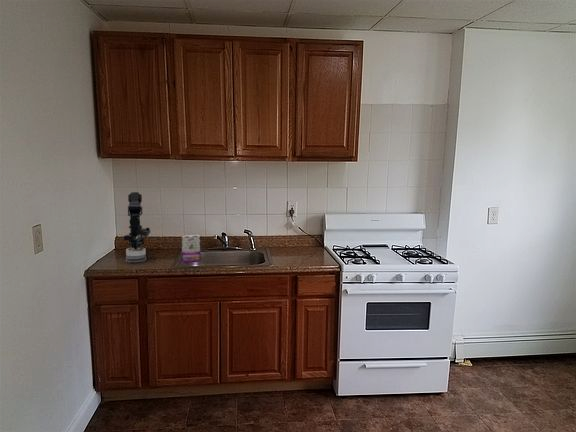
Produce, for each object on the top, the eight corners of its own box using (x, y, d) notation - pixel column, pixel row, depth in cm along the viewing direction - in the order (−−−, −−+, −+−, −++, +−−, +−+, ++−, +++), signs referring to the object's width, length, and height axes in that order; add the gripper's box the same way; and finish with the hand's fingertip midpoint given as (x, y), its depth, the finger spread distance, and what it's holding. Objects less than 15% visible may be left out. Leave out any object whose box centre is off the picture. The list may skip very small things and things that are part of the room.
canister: (131, 257, 239) (131, 246, 238) (149, 258, 238) (149, 247, 237) (121, 262, 227) (121, 250, 226) (141, 263, 226) (140, 251, 226)
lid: (133, 252, 235) (133, 248, 235) (142, 253, 235) (142, 248, 234) (128, 254, 229) (128, 250, 229) (138, 255, 229) (138, 250, 228)
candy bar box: (200, 260, 237) (200, 234, 235) (200, 262, 233) (200, 236, 231) (181, 260, 234) (181, 235, 232) (181, 262, 230) (181, 236, 227)
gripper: (140, 226, 220) (141, 252, 222) (154, 222, 238) (155, 246, 240) (122, 226, 221) (123, 252, 223) (137, 222, 239) (138, 246, 241)
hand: (135, 249), depth 232 cm, fingers closed, pressing on lid
